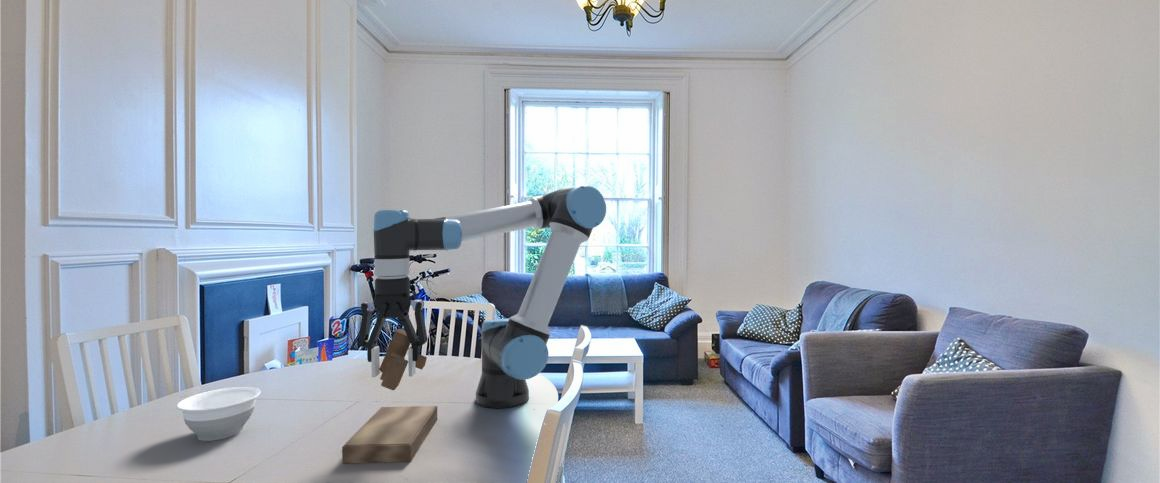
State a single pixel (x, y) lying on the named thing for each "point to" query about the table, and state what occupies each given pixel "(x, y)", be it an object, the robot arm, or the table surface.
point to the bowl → (219, 411)
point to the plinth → (390, 435)
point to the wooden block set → (397, 360)
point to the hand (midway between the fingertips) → (394, 375)
